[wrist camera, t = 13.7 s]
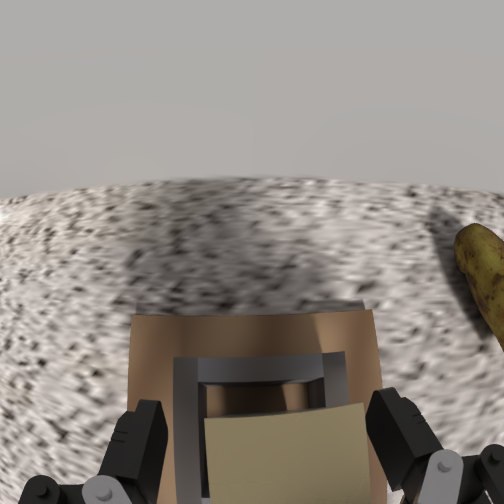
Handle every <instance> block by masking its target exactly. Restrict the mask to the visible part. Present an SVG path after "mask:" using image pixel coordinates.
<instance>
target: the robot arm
mask: <svg viewBox="0 0 504 504" xmlns="http://www.w3.org/2000/svg"><path fill="white" fill-rule="evenodd" d="M365 422H366V432H367V434H368V436H369V439H370V441H371V443H372V445H373V448H374V450H375V452H376V455H377V457H378V459H379V462H380V464H381V466H382V469H383V471H384V473H385V476H386V478H387V480H388V483H389V485H390V487H391V490H392V492H394V491H397V490H400V489H403V491H404V495H403V497H402V499H401V502H400V504H491V502H490V500H489V499H488V497H487V495H486V493H485V491H486V490H487V492H488V494H489V496H490V498H491V500H492V502H493V504H504V447H503V446H501V445H498V444H491V445H488V446H487V447H485V448H484V450H483V451H482V452H481V454H480V455H473V456H464V457H460V455H459V454H457V453H456V452H454V451H452V450H444V448H443V447H442V446H441V444H440V442H439V441H438V439H437V437H436V436H435V434H434V433H433V431H432V430H431V428H430V426H429V425H428V423H427V422H426V420H425V419H424V417H423V416H422V415H421V412H420V411H419V409H418V408H417V406H416V405H415V404H414V403H413V402H412V401H410V400H409V399H407V398H406V397H403V398H401V397H400V396H399V394H398V392H397V391H396V389H395V388H393V387H390V388H385V389H380V390H375V391H374V392H373V394H372V397H371V400H370V403H369V406H368V409H367V412H366V415H365ZM167 444H168V426H167V422H166V419H165V415H164V411H163V407H162V404H161V401H158V400H146V399H140V400H139V401H138V404H137V407H136V410H135V412H132V411H126V412H125V413H124V414H123V415H122V416H121V417H120V418H119V419H118V421H117V423H116V426H115V429H114V433H113V434H112V437H111V441H110V442H109V445H108V448H107V451H106V453H105V456H104V459H103V462H102V465H101V467H100V470H99V473H98V474H97V476H94V477H92V478H90V479H89V480H87V481H86V482H85V484H79V485H58V484H57V483H56V481H55V480H53V479H52V478H50V477H48V476H45V475H38V476H34V477H32V478H31V479H29V480H28V482H27V483H26V485H25V487H24V490H23V492H22V495H21V497H20V500H19V502H18V504H157V499H158V493H159V487H160V481H161V476H162V470H163V465H164V459H165V454H166V449H167Z"/></svg>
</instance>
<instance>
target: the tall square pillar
mask: <svg viewBox="0 0 504 504" xmlns="http://www.w3.org/2000/svg"><path fill="white" fill-rule="evenodd" d="M204 422H205V439H206V454H207V467H208V480H209V491H210V502H211V504H371V496H370V473H369V457H368V444H367V433H366V422H365V413H364V404H363V402H362V403H355V404H348V405H340V406H331V407H321V408H310V409H296V410H283V411H272V412H259V413H243V414H226V415H221V416H216V417H210V418H205V419H204Z"/></svg>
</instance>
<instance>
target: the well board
mask: <svg viewBox="0 0 504 504" xmlns="http://www.w3.org/2000/svg"><path fill="white" fill-rule="evenodd" d="M380 389H383V388H382V378H381V369H380V360H379V353H378V345H377V338H376V331H375V324H374V318H373V312H372V309H369V310H356V311H342V312H327V313H309V314H287V315H257V316H153V315H132V324H131V336H130V350H129V368H128V401H127V411H132V412H135V410H136V407H137V404H138V401H139V400H140V399H146V400H158V401H161V404H162V407H163V411H164V415H165V419H166V422H167V426H168V444H167V449H166V454H165V459H164V465H163V470H162V476H161V481H160V487H159V493H158V499H157V504H211V502H210V491H209V480H208V467H207V454H206V439H205V422H204V419H205V418H210V417H216V416H221V415H226V414H243V413H259V412H272V411H283V410H296V409H310V408H321V407H331V406H340V405H348V404H355V403H362V402H363V404H364V413H365V415H366V412H367V409H368V406H369V403H370V400H371V397H372V394H373V392H374V391H375V390H380ZM366 433H367V432H366ZM367 444H368V457H369V473H370V496H371V504H387V478H386V476H385V473H384V471H383V469H382V466H381V464H380V462H379V459H378V457H377V455H376V452H375V450H374V448H373V445H372V443H371V441H370V439H369V436H368V434H367Z"/></svg>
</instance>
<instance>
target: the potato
mask: <svg viewBox="0 0 504 504" xmlns="http://www.w3.org/2000/svg"><path fill="white" fill-rule="evenodd" d="M454 253H455V259H456V263H457V265H458V267H459V269H460V271H462V272H463V273H464V274H466V278H467V282H468V285H469V288H470V291H471V294H472V296H473V299H474V301H475V303H476V305H477V307H478V309H479V311H480V312H481V314H482V316H483V318H484V319H485V321H486V322H487V323H488V325H489V327H490V328H491V330H492V331H493V333H494V334H495V336H496V338H497V340H498V342H499V343H500V345H501V348H502V350H503V352H504V241H503V240H502V239H500V238H499V237H498V236H497V235H496V234H495V233H494V232H492V230H490V229H488V228H486V227H484V226H482V225H481V224H478V223H472V224H470V225H468V226H466V227H464V228H463V229H462V230H460V231H459V232H458V234H457V235H456V238H455V242H454Z"/></svg>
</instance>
